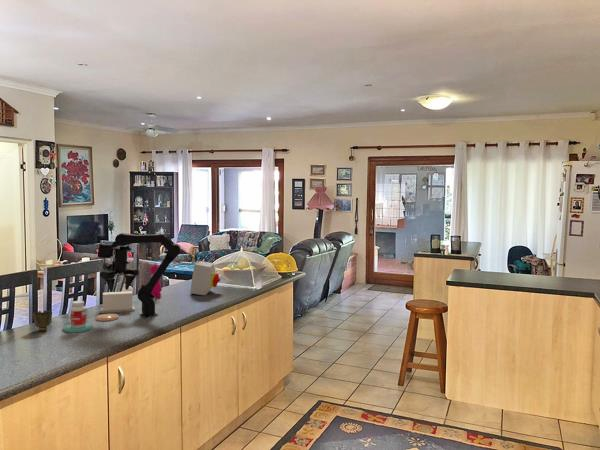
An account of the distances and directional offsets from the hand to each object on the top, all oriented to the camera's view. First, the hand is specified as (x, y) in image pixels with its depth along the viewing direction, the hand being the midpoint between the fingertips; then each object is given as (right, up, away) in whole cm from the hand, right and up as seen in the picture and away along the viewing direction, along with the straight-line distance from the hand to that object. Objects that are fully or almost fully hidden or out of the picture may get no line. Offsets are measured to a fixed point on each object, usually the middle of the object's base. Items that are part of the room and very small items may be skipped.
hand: (118, 290), depth 237 cm
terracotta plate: (-4, -13, -3) cm, 14 cm away
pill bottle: (-10, -13, -21) cm, 27 cm away
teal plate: (-10, -14, -21) cm, 27 cm away
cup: (-24, -14, -25) cm, 37 cm away
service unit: (-5, -12, +12) cm, 18 cm away
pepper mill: (+4, -10, +45) cm, 46 cm away
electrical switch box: (+31, -9, +58) cm, 66 cm away
